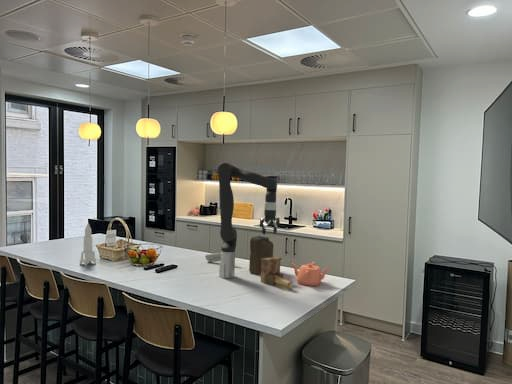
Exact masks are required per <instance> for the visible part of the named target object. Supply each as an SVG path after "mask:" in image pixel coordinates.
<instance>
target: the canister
mask: <svg viewBox="0 0 512 384" xmlns="http://www.w3.org/2000/svg"><path fill="white" fill-rule="evenodd" d="M249 251H250V254H249V264H248V265H249V270H248V271H249V273H251V274H255V275H261V260H260V259H261V258H269V257H274V243H273V242H272V241H271V240H270V238H269V237H268V236H266V237H265V236H261V235H255V236H251V238H250V242H249Z"/></svg>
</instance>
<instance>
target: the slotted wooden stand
mask: <svg viewBox="0 0 512 384" xmlns="http://www.w3.org/2000/svg"><path fill="white" fill-rule="evenodd" d="M260 260H261V274H260V283H262V284H267V285H270V286H275V285H274V279H275V276H274V275H277V276H280V277H282V278H284V276H285V275H284V273H281V260H282V257H279V256H273V257H269V258H261V259H260Z"/></svg>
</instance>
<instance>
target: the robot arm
mask: <svg viewBox="0 0 512 384" xmlns="http://www.w3.org/2000/svg"><path fill="white" fill-rule="evenodd" d="M217 177H218V183H219V184H218V185H219V186H218V187H219V191H218V192H219V193H218V194H219V197H218V198H219V199H218V200H219V212H220V213H219V215H220V229H219V231H220V234H219V235H220V238H221V240H222V244H221V248H220V249H221V251H220V253H221V261H219V268H218V269H219V272H218V273H219V277H220V278H222V279H233V278H235V271H236V270H235V269H236V268H235V267H236V248H237V239H238V234H237V232H238V231H237V230H236V228H235V227H234V226H233V223H232V222H233V221H232V220H233V215H234V209H235V203H234V201H235V200H234V194H233V193H234V192H233V190H232V185H231V178H236V179H240V180H242V181H244V182H247V183H250V184H252V185H256V186H260V187H262V188H265V189H266V192H265V197H264V198H265V199H264V200H265V201H264V218H263V217H262V218H260V219H259V228H261V229H262V231H261V233H262V235H266V233H267V231H266V228H267V227H268V226H271V225H272V226H273V228H272V229H273V234H277V232H278V231H277V229H278V228H279V227H280V226H281V225H280V224H281V223H280V221H281V218H280V217H276V216H277V192H278V191H277V190H278V181H277V180H276V179H275V178H273V177H269V176H264V175H262V174H260V173H257V172H252V171H249V170H245V169H242V168H239V167H236V166H234V165H232V164H230V162H229V163H228V162H221V163H219V165H218V166H217Z"/></svg>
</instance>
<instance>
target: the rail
mask: <svg viewBox="0 0 512 384" xmlns="http://www.w3.org/2000/svg"><path fill="white" fill-rule="evenodd" d="M274 276H275V279H274V286H276V287H278V288H281V289H282V290H284V291H287V292H288V291H292V290H293V281H291V280H289V279H287V278H284V277H283V278H282V277H280V276H277V275H274Z"/></svg>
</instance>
